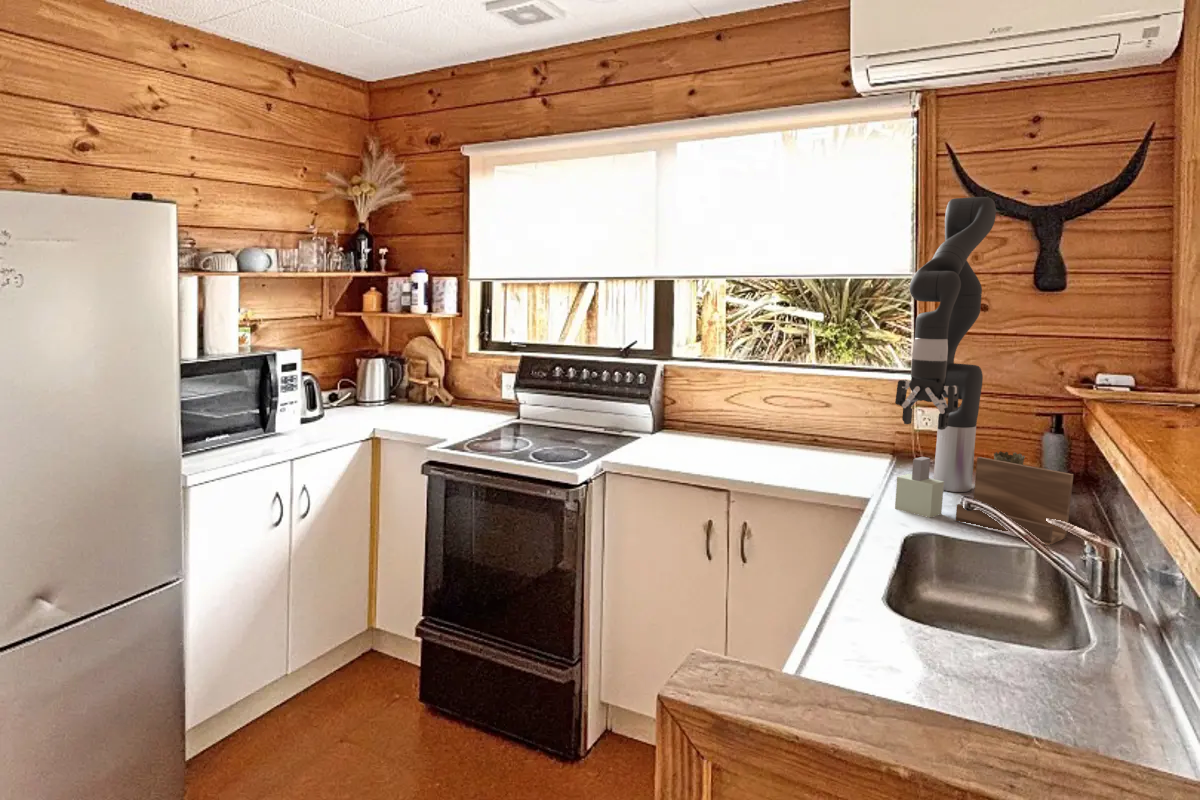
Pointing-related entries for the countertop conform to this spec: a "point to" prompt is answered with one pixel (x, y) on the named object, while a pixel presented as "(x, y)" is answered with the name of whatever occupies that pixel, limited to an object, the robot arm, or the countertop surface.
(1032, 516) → the wooden tablet stand
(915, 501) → the tab block
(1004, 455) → the grey-green lumpy piece
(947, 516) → the countertop surface
